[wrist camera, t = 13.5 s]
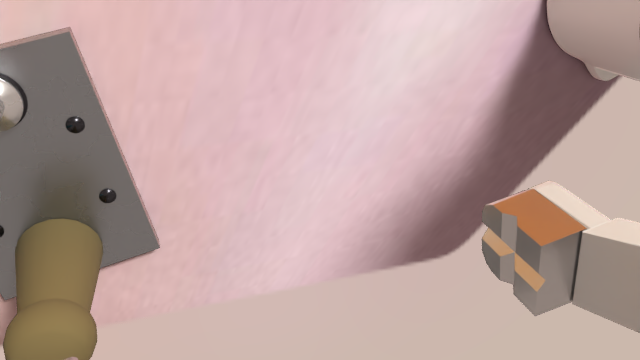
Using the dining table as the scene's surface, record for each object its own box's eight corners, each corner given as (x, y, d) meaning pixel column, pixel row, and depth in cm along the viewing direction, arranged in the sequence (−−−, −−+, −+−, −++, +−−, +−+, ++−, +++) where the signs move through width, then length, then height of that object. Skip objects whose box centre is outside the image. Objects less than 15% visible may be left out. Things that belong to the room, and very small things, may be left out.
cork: (99, 284, 44) (99, 393, 35) (13, 283, 41) (-11, 401, 32) (107, 220, 41) (109, 320, 32) (16, 216, 39) (-9, 323, 30)
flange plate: (69, 27, 35) (69, 32, 34) (158, 239, 45) (160, 248, 44) (-134, 77, 33) (-142, 84, 32) (7, 290, 42) (4, 300, 41)
